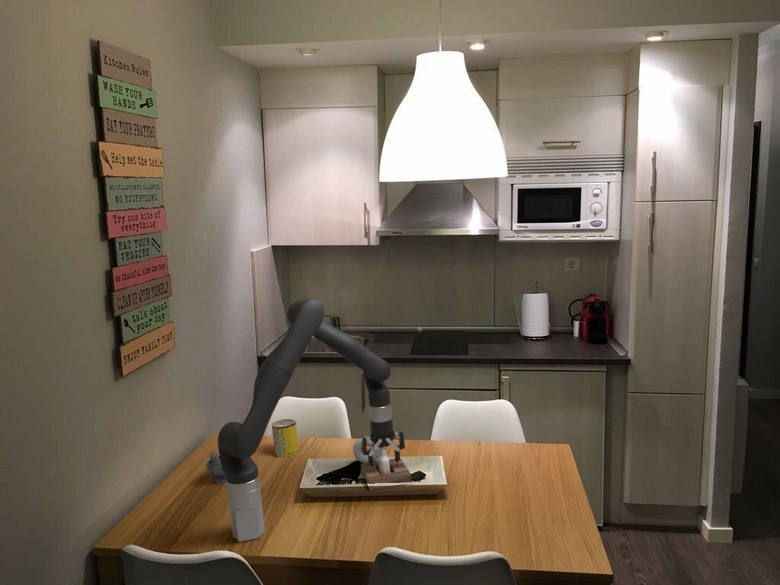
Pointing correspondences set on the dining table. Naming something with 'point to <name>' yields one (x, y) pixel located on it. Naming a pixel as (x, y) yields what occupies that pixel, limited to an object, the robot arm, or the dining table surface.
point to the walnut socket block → (395, 476)
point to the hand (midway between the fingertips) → (384, 463)
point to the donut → (359, 455)
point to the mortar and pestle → (215, 468)
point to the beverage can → (285, 438)
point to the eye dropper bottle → (383, 461)
